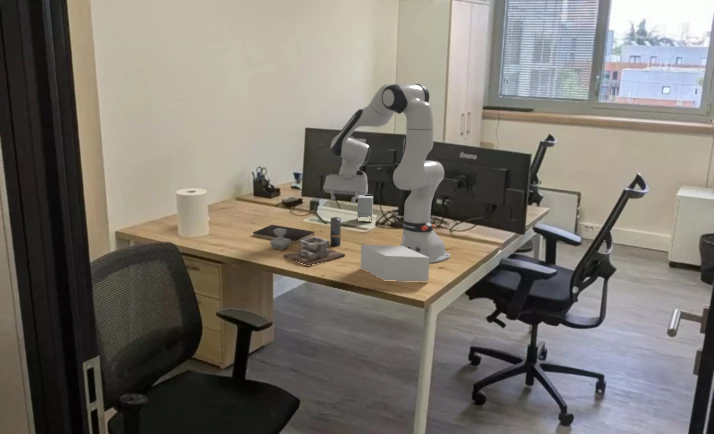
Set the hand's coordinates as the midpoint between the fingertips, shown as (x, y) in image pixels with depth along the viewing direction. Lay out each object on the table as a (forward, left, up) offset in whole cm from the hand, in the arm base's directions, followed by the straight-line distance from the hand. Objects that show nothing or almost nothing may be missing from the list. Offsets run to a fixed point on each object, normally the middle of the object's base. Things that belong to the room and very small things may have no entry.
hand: (342, 200), depth 298 cm
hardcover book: (+19, +19, -18) cm, 32 cm away
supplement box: (+13, -29, -17) cm, 36 cm away
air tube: (-7, +10, -17) cm, 21 cm away
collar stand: (-13, +28, -17) cm, 36 cm away
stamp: (+5, +31, -17) cm, 36 cm away
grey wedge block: (-50, +21, -17) cm, 57 cm away
